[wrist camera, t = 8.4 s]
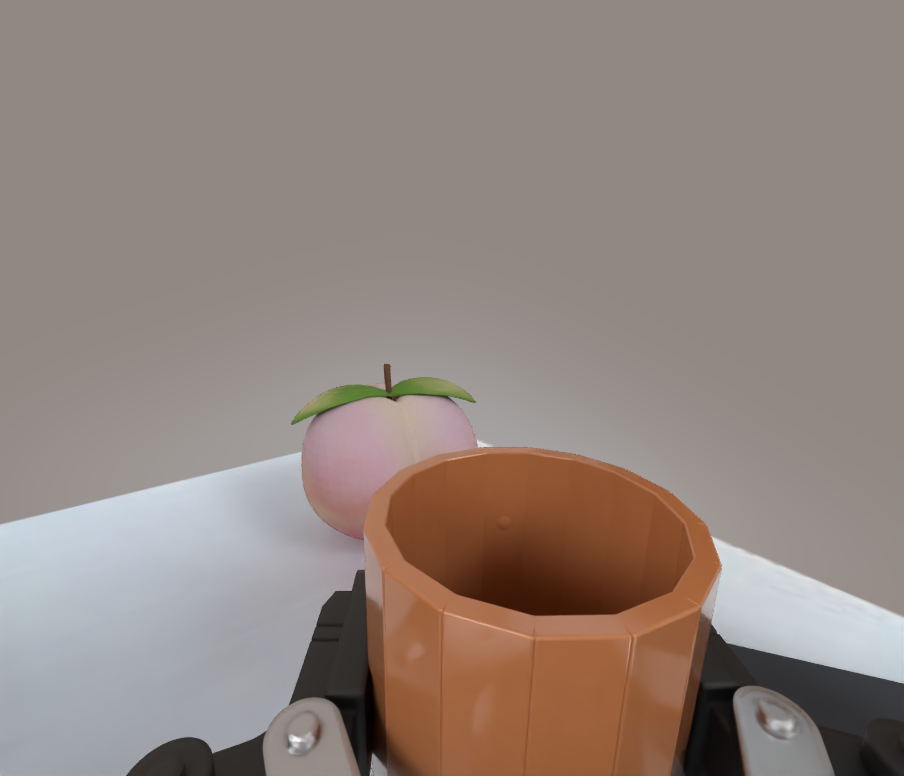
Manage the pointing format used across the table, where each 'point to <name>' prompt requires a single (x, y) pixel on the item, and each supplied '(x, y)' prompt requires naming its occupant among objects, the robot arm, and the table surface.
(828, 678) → the mat
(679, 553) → the brown mug
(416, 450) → the decorative fruit
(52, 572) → the table surface
